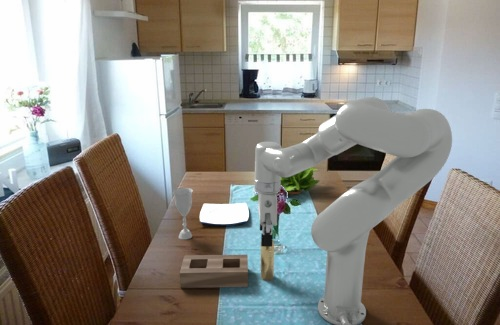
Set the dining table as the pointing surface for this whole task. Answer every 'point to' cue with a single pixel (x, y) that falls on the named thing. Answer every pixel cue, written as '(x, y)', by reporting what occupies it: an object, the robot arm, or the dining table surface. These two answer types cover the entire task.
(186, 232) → the chalice
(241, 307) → the dining table surface
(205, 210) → the plate
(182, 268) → the hole block
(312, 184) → the potted flower
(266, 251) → the pin
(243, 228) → the dining table surface
